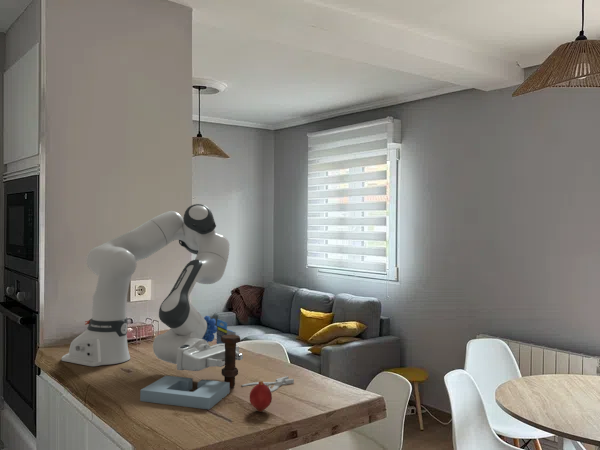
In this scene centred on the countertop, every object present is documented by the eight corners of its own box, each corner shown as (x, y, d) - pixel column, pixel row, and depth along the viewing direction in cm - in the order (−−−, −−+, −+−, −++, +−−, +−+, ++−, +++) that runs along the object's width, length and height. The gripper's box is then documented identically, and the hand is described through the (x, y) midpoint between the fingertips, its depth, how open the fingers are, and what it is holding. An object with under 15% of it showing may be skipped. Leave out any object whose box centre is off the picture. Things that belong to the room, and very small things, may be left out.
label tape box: (236, 355, 195) (237, 321, 195) (226, 356, 193) (226, 322, 193) (225, 350, 203) (226, 317, 202) (215, 351, 200) (216, 318, 200)
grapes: (210, 343, 213) (211, 312, 213) (220, 346, 208) (220, 315, 208) (184, 347, 205) (185, 315, 205) (193, 350, 200) (194, 318, 200)
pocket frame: (140, 401, 145) (140, 389, 145) (165, 385, 159) (166, 375, 159) (209, 409, 140) (209, 398, 140) (229, 392, 154) (229, 382, 154)
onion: (249, 407, 142) (250, 377, 142) (271, 407, 143) (271, 377, 143) (249, 415, 137) (249, 384, 136) (271, 415, 137) (272, 384, 137)
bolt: (240, 384, 161) (242, 334, 161) (237, 390, 156) (238, 338, 156) (221, 383, 162) (223, 333, 161) (217, 389, 157) (218, 337, 156)
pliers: (241, 382, 160) (280, 373, 170) (240, 387, 160) (280, 378, 170) (260, 390, 153) (301, 381, 162) (260, 396, 153) (300, 386, 162)
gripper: (218, 356, 174) (253, 363, 167) (173, 371, 157) (210, 379, 150) (218, 336, 174) (253, 342, 167) (173, 349, 157) (210, 356, 150)
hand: (232, 360), depth 158 cm, fingers open, 7 cm apart
